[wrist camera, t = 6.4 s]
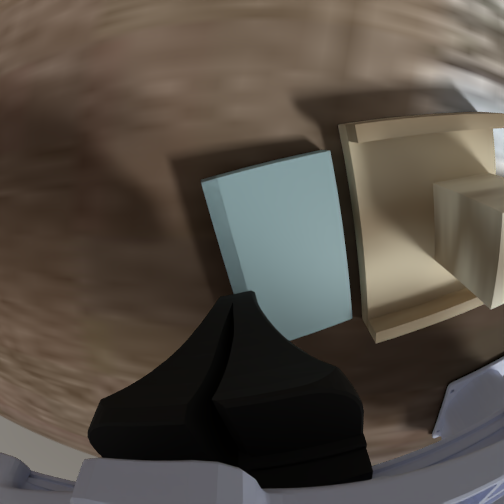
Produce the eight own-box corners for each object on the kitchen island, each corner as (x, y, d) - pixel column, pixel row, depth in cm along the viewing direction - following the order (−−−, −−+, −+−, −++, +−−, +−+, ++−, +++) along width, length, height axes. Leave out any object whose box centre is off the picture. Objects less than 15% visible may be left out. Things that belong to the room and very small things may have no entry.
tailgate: (352, 318, 17) (252, 352, 17) (345, 309, 18) (249, 341, 18) (330, 150, 14) (200, 182, 13) (321, 149, 14) (200, 179, 14)
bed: (479, 280, 18) (499, 297, 15) (362, 319, 18) (375, 343, 16) (478, 111, 13) (505, 113, 11) (337, 124, 14) (354, 124, 12)
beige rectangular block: (487, 243, 15) (544, 282, 10) (434, 260, 16) (490, 309, 11) (489, 172, 14) (556, 197, 9) (432, 182, 14) (502, 212, 9)
